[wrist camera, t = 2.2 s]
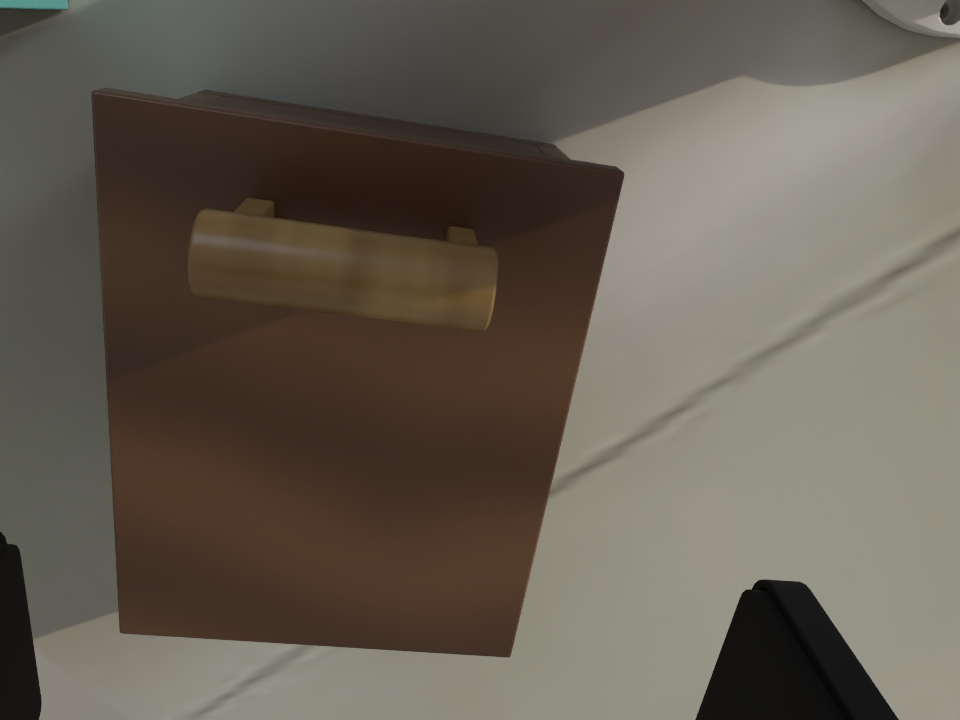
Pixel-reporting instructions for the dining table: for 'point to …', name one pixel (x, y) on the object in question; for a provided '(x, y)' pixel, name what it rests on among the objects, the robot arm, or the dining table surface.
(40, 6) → the block
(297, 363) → the chest lid
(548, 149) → the chest
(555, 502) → the dining table surface
